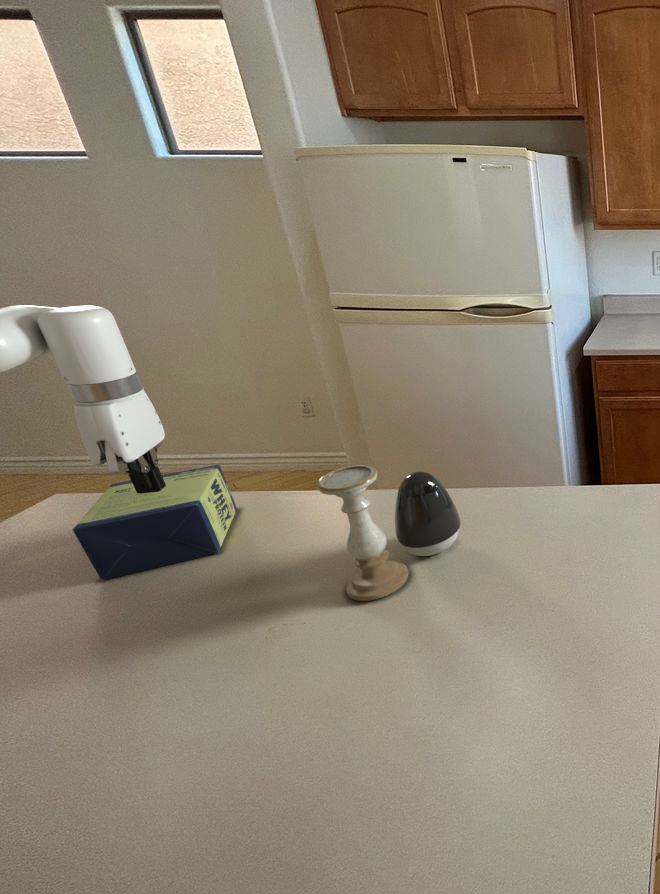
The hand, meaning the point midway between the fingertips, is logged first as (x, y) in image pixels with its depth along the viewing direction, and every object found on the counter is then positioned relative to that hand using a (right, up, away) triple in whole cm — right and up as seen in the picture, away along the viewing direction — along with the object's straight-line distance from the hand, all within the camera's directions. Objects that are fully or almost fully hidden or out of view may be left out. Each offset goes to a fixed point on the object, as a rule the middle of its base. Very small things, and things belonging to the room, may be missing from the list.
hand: (152, 490), depth 92 cm
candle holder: (+39, -15, -1) cm, 42 cm away
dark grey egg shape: (+43, -11, +8) cm, 45 cm away
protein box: (0, -9, -1) cm, 9 cm away
